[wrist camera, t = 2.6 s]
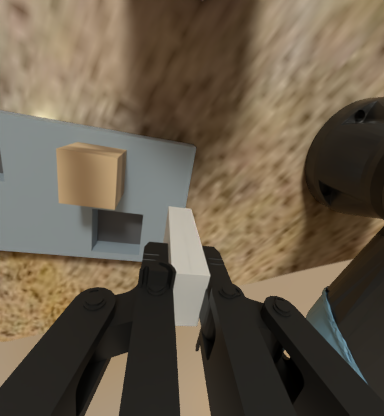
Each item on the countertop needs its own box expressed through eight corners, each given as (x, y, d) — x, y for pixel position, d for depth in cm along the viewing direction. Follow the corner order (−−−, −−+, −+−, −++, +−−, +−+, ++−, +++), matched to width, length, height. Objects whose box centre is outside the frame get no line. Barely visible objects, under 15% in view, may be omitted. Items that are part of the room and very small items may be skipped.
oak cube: (126, 149, 24) (117, 158, 19) (123, 192, 26) (114, 209, 21) (77, 141, 23) (56, 148, 18) (78, 187, 25) (58, 203, 20)
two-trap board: (193, 144, 27) (200, 151, 22) (174, 251, 33) (175, 279, 28) (-145, 84, 22) (-251, 74, 16) (-96, 227, 27) (-161, 256, 22)
